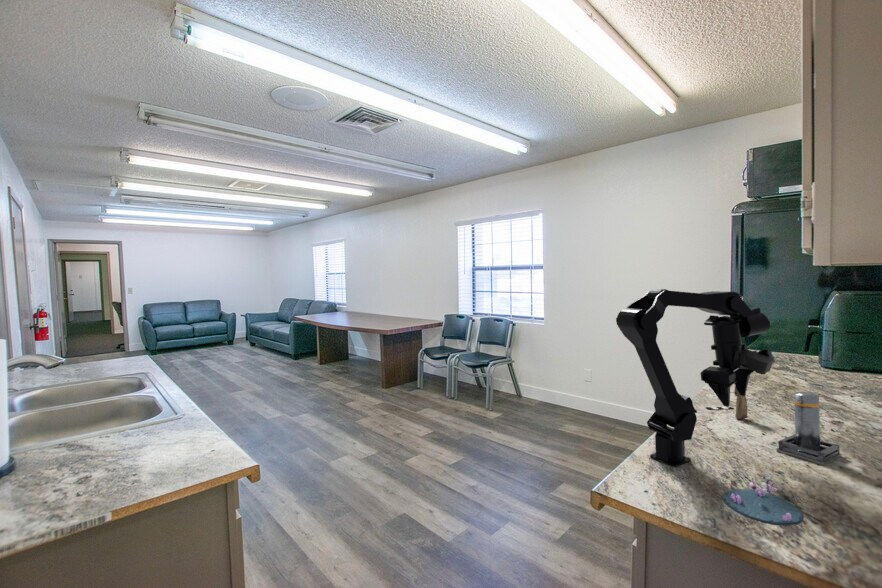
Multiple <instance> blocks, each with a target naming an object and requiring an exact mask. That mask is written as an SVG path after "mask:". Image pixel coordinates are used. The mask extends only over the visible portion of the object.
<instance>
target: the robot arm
mask: <svg viewBox="0 0 882 588" xmlns="http://www.w3.org/2000/svg"><path fill="white" fill-rule="evenodd" d="M669 306H671V307H683V308H695V309H698V310H700V311H701V312H702V311H703V312H705V313H709V314H717V315H709V317H708V318H707V319H706V320H705V321H704V322H703V325H704V326H711V329H712V337H713V338H712V339H713V344H712V345H710V349H711V350H713V351H714V355H715V359H714V360H713V361H712V365H713V366H712V365H711V366H708V367H706V368H705V369H703V370H702V371H700V381H703V382H704V383H705V384H707V385H708V386H709V388H711V390H712V391H713V392H714V394H715V396H716V397H717V398H718V400H719V401H720V403H721V404H722V405H723V407H730V404H731V403H730V402H731V387H733V385H734V387H735V386H736V388H737V390H738V392H739V394H740V395H742V396H745V394H747V389H748V386H749V380H750V376H751V375H752V374H753V373H754V372H755V373H756V374H760V375H766V374H767V373H768V372H771V368H772V365H773V364H774V363H775V357H774V356H773V354H772V353H773V352H772V350H771V349H768V348H765V347H764V348H762V349H760V350H759V351H758V352H757V350H751V349H748V345H747V344H746V342H743V341H742V338H748V337H751V336H756V335H760V334H761V335H762V334H765V333H767V332H768V331H769V330H770V328H771V322H770V320H769V317H767V315H766V314H765V313H762V312H761V307H749V306H748V304H746V302H745V301H744V299H743V298H742V297H741V294H740V293H739V292H736V291H718V290H717V291H713V290H712V291H706V292H705V291H704V292H700V293H699V292H689V291H687V292H686V291H680V290H679V291H677V290H669V289H665V288H662V289H661V288H654V289H651V290H648V291H647V292H646V293H645V294H644V295H643V296H641V297H640V298H638V299H635V300H634V301H632V302H631V303H630V304H629V305H627V306H626V308H623V309H621V310H620V311H619V312H618V314H617V316H616V318H615V322H616V325H617V327H618V330H620V332H621V333H622V334H623V336H624V338H626V339H627V341H629V342H630V343H631V344H632V345H633V346H634V349H635V350H636V353H637V356H638V358H639V359H640V363H641V364H642V367H643V369H644V372H645V374H646V376H647V378H648V381H649V383H650V386H651V387H652V390H653V393H654V395H655V397H654V398H655V399H654V402H653V407H654V412H653V413H652V415H651V416H650V417H649V419H647V421H646V424H647V427H648V429H649V430H650V431H654V432H655V434H654V438H655V440H654V442H655V452H654V453H652V454H650V458H652V459H654V460H656V461H659V462H661V463H664V464H666V465H668V466H671V467H674V468H677V467H679V466H681V465H683V464H686V463H688V462H691V460H692V459H691V457H688V456H685V455H686V449H685V448H686V447H685V445H686V444H685V441H690V440H692V439H693V434H694V431H695V428H696V427H695V426H696V424H697V418H698V417H697V413H698V411H697V410H696V409H695V407H694V402H693V400H692V398H691V397H690V396H688V395H687V396H686V395H684V394H681V393H679V392H678V390H677V387H676V385H675V383H674V380H673V378H672V375H671V373H670V371H669V368H668V366H667V363H666V361H665V360H664V357H663V353H662V351H661V349H660V347H659V345H658V342H657V338H658V337H657V336H658V332H659V329H658V324H657V323H658V322H659V321H661V320H662V318H663V317H664V315H665V312H666V308H667V307H669ZM718 315H719V316H718Z"/></svg>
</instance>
